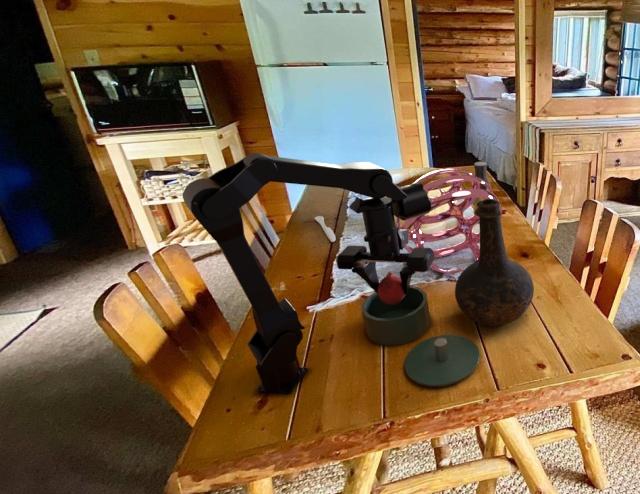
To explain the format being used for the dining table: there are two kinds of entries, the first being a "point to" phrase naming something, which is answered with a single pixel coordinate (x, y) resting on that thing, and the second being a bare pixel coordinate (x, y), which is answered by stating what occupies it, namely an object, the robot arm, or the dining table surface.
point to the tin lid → (442, 360)
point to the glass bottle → (493, 276)
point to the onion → (391, 289)
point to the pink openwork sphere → (449, 214)
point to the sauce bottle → (481, 173)
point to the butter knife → (326, 228)
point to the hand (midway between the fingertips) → (392, 292)
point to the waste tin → (396, 318)
